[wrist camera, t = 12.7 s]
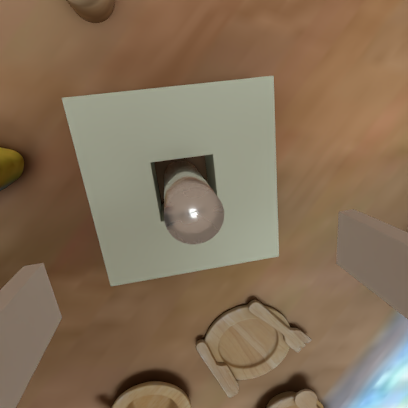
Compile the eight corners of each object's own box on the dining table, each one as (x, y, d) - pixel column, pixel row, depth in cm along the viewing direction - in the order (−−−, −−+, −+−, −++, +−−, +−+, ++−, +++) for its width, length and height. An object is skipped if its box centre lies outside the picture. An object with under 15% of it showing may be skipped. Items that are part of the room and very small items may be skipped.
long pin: (167, 196, 31) (169, 248, 18) (161, 162, 30) (159, 192, 16) (200, 191, 31) (226, 239, 18) (196, 157, 30) (221, 183, 17)
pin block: (120, 258, 32) (110, 286, 27) (83, 103, 27) (61, 97, 21) (259, 234, 34) (278, 256, 29) (251, 85, 29) (273, 75, 23)
